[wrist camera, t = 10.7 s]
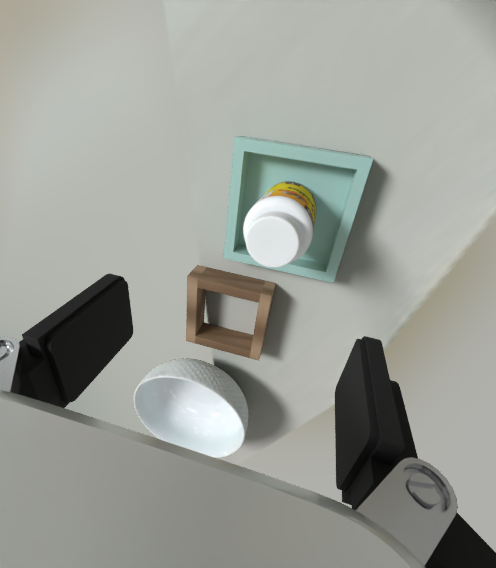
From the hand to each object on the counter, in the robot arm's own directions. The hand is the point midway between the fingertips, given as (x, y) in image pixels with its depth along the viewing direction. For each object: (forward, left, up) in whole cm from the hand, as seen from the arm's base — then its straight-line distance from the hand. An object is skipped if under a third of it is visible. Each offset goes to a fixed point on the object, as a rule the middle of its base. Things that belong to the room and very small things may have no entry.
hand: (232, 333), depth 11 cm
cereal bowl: (+30, -8, -22) cm, 38 cm away
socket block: (+14, -5, -21) cm, 26 cm away
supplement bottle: (0, 0, -21) cm, 21 cm away
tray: (0, 0, -21) cm, 21 cm away
